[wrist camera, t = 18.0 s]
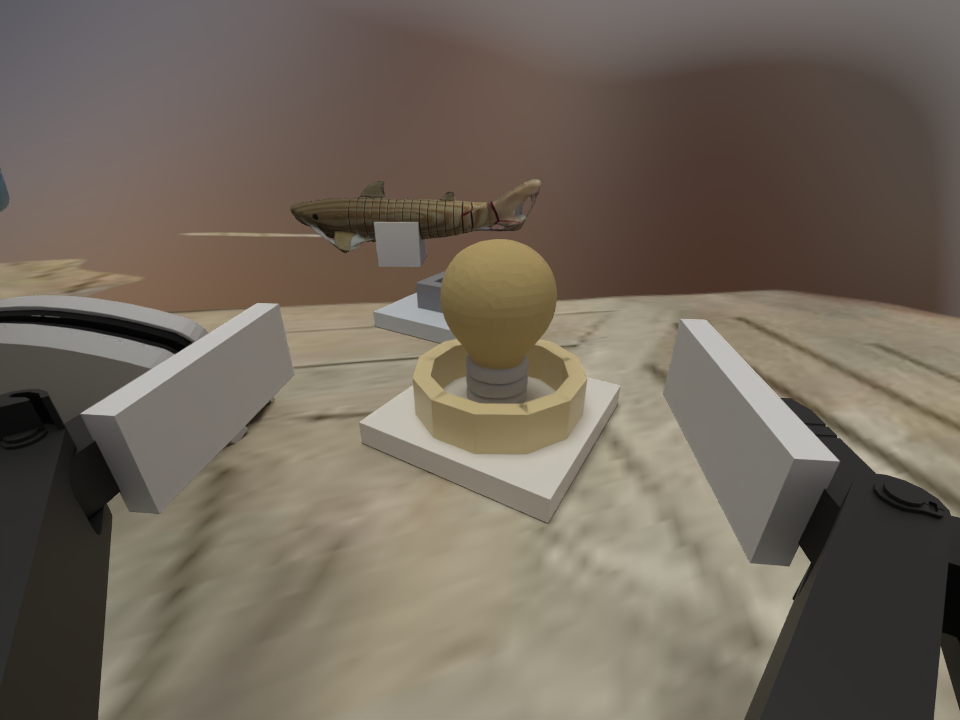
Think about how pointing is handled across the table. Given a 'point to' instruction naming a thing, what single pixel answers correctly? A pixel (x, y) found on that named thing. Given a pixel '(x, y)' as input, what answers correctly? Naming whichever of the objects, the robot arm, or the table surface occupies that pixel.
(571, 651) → the table surface
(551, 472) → the round socket
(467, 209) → the wood carving
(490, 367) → the light bulb
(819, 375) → the table surface
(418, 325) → the square socket
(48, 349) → the white curved block
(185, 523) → the table surface
